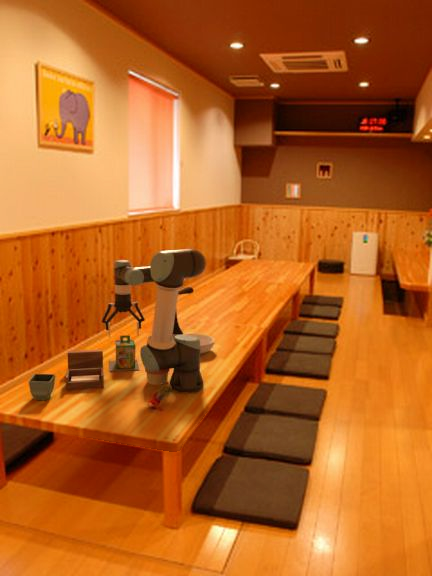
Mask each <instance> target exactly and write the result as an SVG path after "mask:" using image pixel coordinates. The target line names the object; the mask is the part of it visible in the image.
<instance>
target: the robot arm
mask: <svg viewBox="0 0 432 576" xmlns="http://www.w3.org/2000/svg"><path fill="white" fill-rule="evenodd" d="M113 264H114V265H113V275H114V276H113V277H114V278H113V279H114V303H112V302H108V303H107V304H108V305H107V308H106V311H105V312H104V315H103V317H102V319H101V323H102V324H104V325H105V331H107V333H108V338H111V323H110V322H111V321H112V319H114V317H115V316H116V315H117V314H118V313H127V312H128V313H129V314H131V316H132V317H133V318H134V319H135V320H136V336H137V337H139V336H140V330H141V329H142V323H143V322H145V321H146V319H145V317H144V315H143V314H142V312H141V309H140V308H139V304H138V301H134V302H132V293H131V292H132V290H131V289H132V287H131V286H140V285H142V284H148V283H154V284H155V285H156V286H157V288H156V298H155V305H154V311H153V312H154V313H153V320H152V330H151V335H150V336H149V337H148V338H147V340H146V345H143V346H141V347H140V351H139V352H140V353H139V354H140V359H141V363H142V365H143V367H144V369H145V368H146V370H147V371H149V372H159V371H162V370H167V369H171V370H172V374H171V377H170V380H169V385H171V388H172V389H171V391H174V392H175V393H180V394H181V393H182V394H193V393H197V392H200V391H201V390H202V389H203V390H204V379H203V377H202V372H201V354H200V349H201V348H200V341H199V339H198V338H196V337H193V336H189V335H184V334H180V335H176V334H175V336H173V335H174V334H173V327H174V320H175V313H176V310H177V304H178V299H179V298H178V296H179V294H178V291H180V290H179V289H181V288H182V287H183V286H184V281H185V279H191V278H197V277H199V276H200V275H201V274H203V273H204V272H205V270H206V267H207V259H206V257H205V256H204V254H203V253H202V252H201V251H199V250H197V249H194V248H185V249H174V250H173V249H171V250H169V249H166V250H161V251H158V252H156V253H155V254H154V255H153V256H152V258H151V261H150V264H149V265H148V266H139V267H138V266H137V267H131V262H130V260H129V259H128V260H127V259H118V260H115V261H114V263H113ZM113 307H114V308H115V309H114V311H113V312H111V310H112V308H113ZM132 307H134V308H135V309H136V310H135V311H137V313H138V315H139V316H138V315H137V314H136V313H135V312H134V310H132ZM110 312H111V314H110V315H109V313H110ZM108 315H109V317H108Z"/></svg>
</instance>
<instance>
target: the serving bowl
mask: <svg viewBox="0 0 432 576" xmlns="http://www.w3.org/2000/svg"><path fill="white" fill-rule="evenodd" d="M183 335H189V336H193V337H196V338H198V339H199V341H200V348H201V349H200V355H201V354H204V353H207V352H209V351H211V350H212V348H213V347H214V344H215V338H214V337H212V336H210V335H208V334H207V335H206V334H203V333H185V334H184V333H183Z"/></svg>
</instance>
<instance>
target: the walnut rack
mask: <svg viewBox="0 0 432 576" xmlns="http://www.w3.org/2000/svg"><path fill="white" fill-rule="evenodd" d="M66 355H67V369H66V372H65V390H66V391H81V390H82V391H83V390H96V389H97V390H98V389H105V379H104V373H105V372H104V357H103V356H104V354H103V349H94V350H93V349H92V350H89V349H88V350H73V351H72V350H71V351H67V354H66ZM88 375H99V380H94V381H77V382H70V379H71V377H72V376H88Z"/></svg>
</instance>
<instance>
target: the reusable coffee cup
mask: <svg viewBox="0 0 432 576" xmlns="http://www.w3.org/2000/svg"><path fill="white" fill-rule="evenodd" d="M144 370H145V373H146V379H147V382H148V383H149V384H150V385H163V384H166V383H167V382H168V379H169V378H168V377H169V376H168V375H169V371H170V369H167V370H162V371H159V372H149V371H147V370H146V368H145V367H144Z"/></svg>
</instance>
